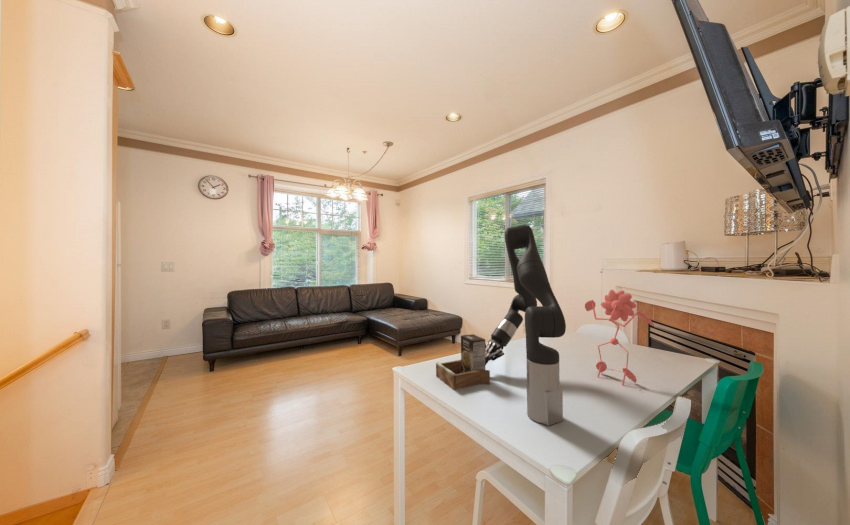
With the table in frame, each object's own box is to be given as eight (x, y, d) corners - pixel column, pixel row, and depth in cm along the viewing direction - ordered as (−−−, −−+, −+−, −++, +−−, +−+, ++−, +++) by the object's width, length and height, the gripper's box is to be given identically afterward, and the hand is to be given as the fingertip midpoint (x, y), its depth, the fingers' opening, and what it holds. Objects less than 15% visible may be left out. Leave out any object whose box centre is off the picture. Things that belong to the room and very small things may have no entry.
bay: (491, 384, 113) (490, 369, 113) (456, 392, 106) (456, 376, 106) (465, 368, 129) (465, 355, 129) (433, 374, 123) (433, 361, 123)
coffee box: (460, 373, 123) (460, 335, 123) (473, 371, 126) (473, 333, 126) (472, 381, 115) (471, 340, 115) (486, 379, 117) (485, 338, 117)
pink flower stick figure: (647, 394, 102) (647, 293, 102) (577, 371, 124) (577, 288, 125) (667, 385, 110) (667, 291, 110) (597, 365, 132) (597, 287, 132)
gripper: (489, 324, 132) (466, 355, 127) (509, 330, 119) (484, 365, 115) (499, 334, 134) (477, 365, 129) (519, 341, 122) (496, 376, 117)
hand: (480, 365), depth 122 cm, fingers closed
